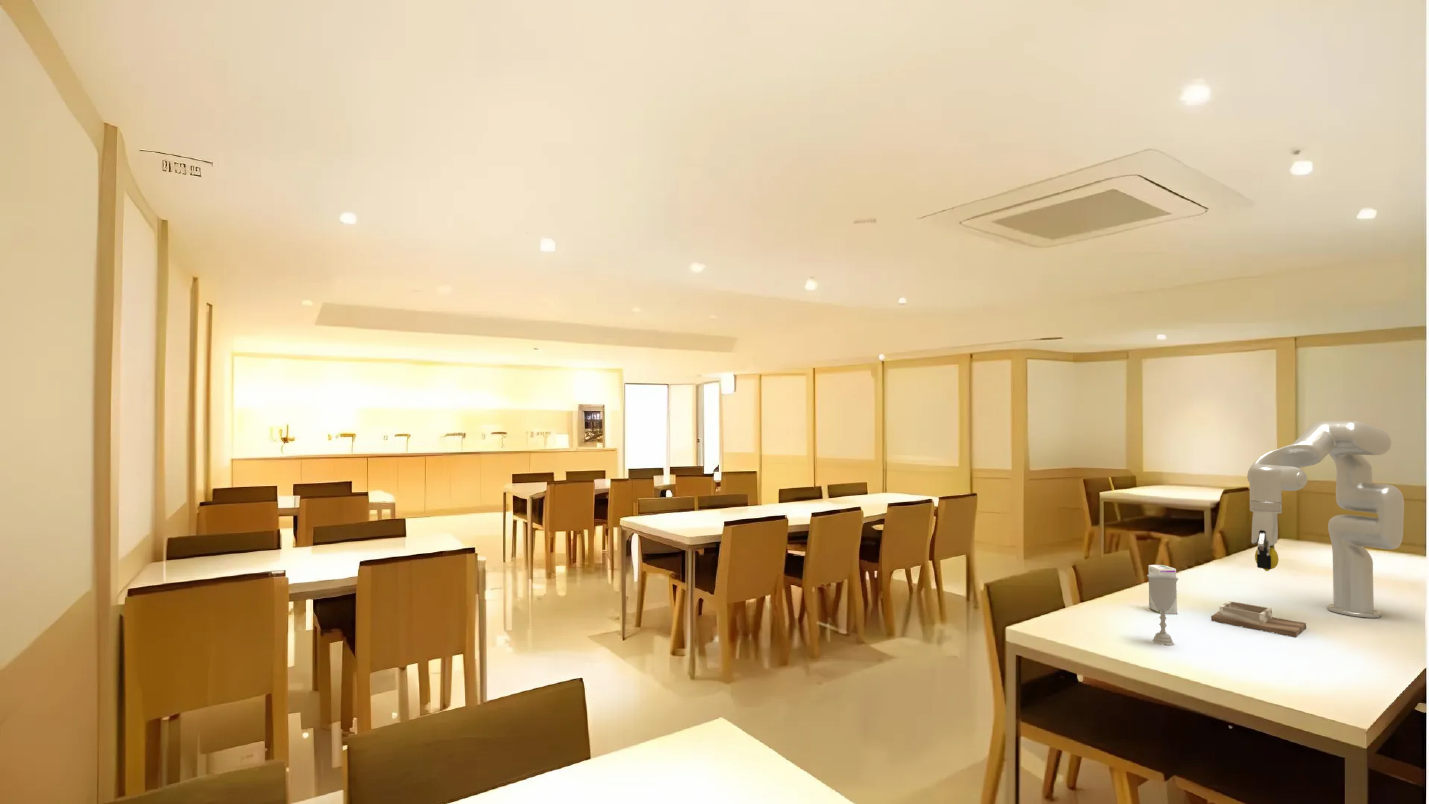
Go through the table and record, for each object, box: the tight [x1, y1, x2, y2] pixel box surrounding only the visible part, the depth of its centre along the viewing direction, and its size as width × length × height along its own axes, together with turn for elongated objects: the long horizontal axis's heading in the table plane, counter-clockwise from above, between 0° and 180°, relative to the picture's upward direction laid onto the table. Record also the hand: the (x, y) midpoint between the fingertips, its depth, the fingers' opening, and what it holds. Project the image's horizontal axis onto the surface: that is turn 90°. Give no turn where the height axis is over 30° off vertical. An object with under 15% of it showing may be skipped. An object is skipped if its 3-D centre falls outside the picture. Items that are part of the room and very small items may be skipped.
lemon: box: [1254, 547, 1279, 572], centre depth 203 cm, size 6×6×8 cm
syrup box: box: [1148, 564, 1178, 615], centre depth 217 cm, size 6×6×14 cm
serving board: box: [1210, 600, 1307, 638], centre depth 204 cm, size 14×20×4 cm
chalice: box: [1146, 573, 1179, 646], centre depth 186 cm, size 7×7×18 cm
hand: (1266, 566), depth 203 cm, fingers closed on lemon, 5 cm apart
